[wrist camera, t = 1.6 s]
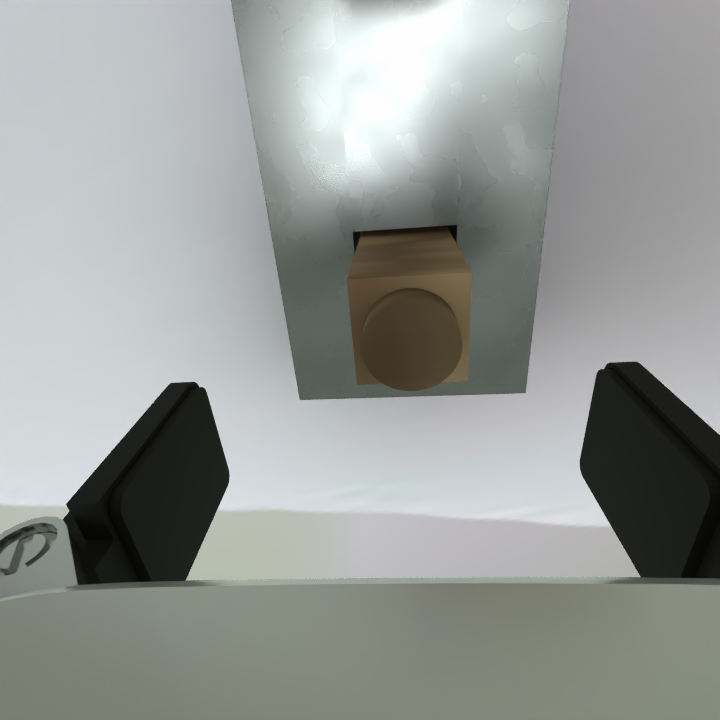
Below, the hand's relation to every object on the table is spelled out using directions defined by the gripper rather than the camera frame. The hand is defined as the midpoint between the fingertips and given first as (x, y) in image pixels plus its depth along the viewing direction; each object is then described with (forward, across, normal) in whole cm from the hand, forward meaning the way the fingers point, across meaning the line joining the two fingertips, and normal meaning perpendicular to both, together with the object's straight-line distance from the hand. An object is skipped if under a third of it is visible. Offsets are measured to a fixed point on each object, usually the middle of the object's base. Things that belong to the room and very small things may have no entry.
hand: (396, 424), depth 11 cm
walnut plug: (+15, -1, 0) cm, 15 cm away
